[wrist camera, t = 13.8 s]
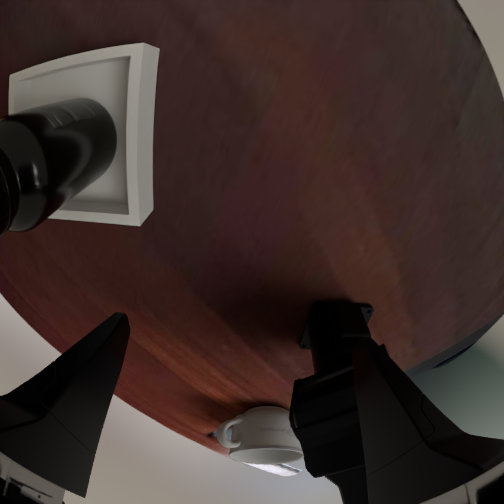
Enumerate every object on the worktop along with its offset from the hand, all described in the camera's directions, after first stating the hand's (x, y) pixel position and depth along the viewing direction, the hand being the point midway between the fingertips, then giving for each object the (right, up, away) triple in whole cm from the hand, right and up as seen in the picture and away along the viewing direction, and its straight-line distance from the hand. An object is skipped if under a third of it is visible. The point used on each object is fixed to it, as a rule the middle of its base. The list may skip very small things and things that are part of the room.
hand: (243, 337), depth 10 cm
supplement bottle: (-12, +12, +7) cm, 19 cm away
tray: (-13, +12, +8) cm, 20 cm away
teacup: (+2, -21, +28) cm, 35 cm away
